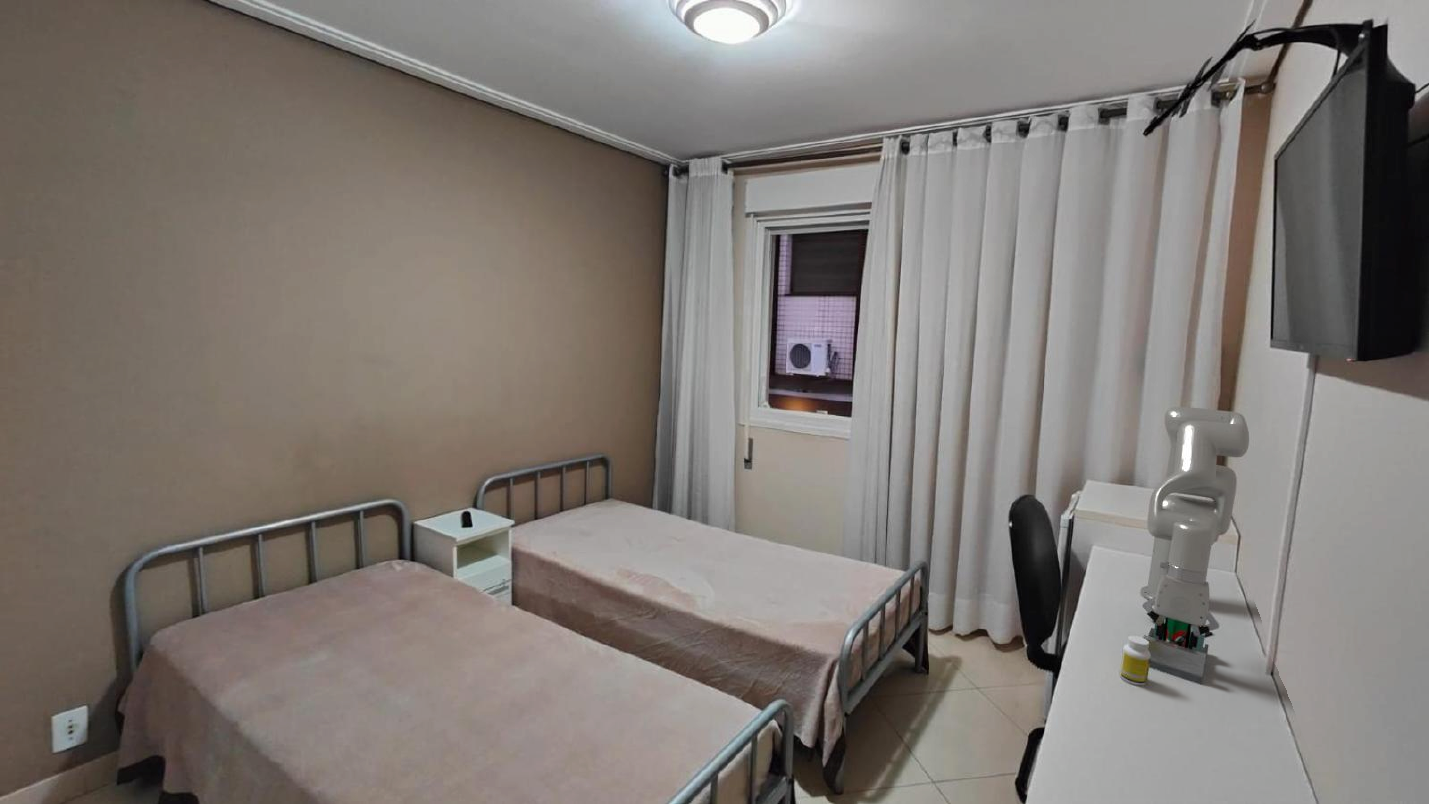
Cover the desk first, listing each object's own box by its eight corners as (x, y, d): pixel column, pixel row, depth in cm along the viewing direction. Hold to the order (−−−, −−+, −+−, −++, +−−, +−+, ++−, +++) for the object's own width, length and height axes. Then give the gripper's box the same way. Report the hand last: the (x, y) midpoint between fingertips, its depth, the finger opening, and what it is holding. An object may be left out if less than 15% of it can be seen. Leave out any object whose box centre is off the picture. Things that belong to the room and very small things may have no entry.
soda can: (1191, 660, 153) (1197, 613, 151) (1178, 665, 151) (1184, 617, 149) (1169, 650, 158) (1175, 604, 156) (1156, 654, 156) (1162, 608, 154)
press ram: (1154, 635, 165) (1157, 617, 164) (1202, 649, 158) (1205, 631, 158) (1152, 639, 163) (1155, 621, 162) (1201, 654, 156) (1204, 635, 155)
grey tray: (1150, 636, 167) (1153, 613, 166) (1207, 654, 160) (1211, 629, 159) (1139, 663, 154) (1142, 638, 153) (1200, 684, 146) (1205, 658, 145)
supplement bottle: (1150, 688, 144) (1156, 648, 142) (1123, 683, 145) (1128, 643, 144) (1142, 675, 149) (1148, 636, 147) (1115, 670, 151) (1121, 632, 149)
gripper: (1141, 567, 154) (1130, 637, 157) (1231, 589, 143) (1219, 664, 146) (1145, 558, 159) (1135, 626, 162) (1233, 579, 148) (1221, 651, 151)
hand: (1175, 643), depth 154 cm, fingers open, 5 cm apart
